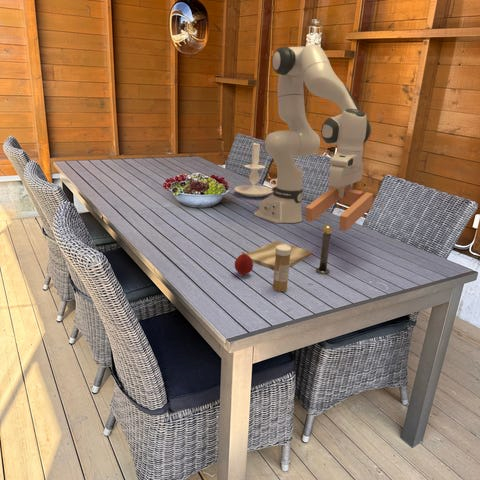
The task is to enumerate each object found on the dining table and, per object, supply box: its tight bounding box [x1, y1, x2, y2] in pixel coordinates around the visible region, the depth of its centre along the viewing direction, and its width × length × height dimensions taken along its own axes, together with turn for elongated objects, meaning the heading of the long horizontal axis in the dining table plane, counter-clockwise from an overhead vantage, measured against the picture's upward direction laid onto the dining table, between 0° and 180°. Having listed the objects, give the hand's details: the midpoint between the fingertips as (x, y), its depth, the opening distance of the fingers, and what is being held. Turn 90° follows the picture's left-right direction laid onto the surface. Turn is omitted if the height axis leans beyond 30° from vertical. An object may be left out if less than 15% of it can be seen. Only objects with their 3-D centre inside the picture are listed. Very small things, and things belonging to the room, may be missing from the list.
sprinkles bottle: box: [272, 245, 291, 292], centre depth 135 cm, size 5×5×13 cm
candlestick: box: [233, 142, 277, 198], centre depth 240 cm, size 21×25×28 cm
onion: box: [234, 251, 254, 277], centre depth 144 cm, size 6×6×8 cm
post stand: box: [315, 225, 333, 275], centre depth 149 cm, size 4×4×16 cm
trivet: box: [246, 240, 314, 270], centre depth 162 cm, size 16×21×1 cm
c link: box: [305, 187, 374, 232], centre depth 157 cm, size 20×15×5 cm
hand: (344, 196), depth 164 cm, fingers closed on c link, 3 cm apart
